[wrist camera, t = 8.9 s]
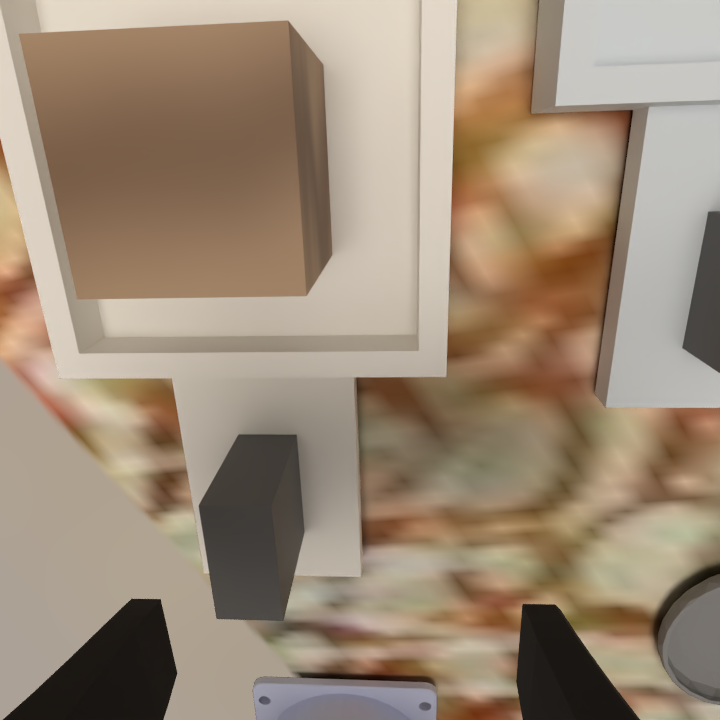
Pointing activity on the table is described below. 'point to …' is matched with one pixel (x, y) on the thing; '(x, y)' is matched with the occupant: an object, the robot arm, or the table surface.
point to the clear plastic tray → (650, 184)
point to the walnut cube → (185, 158)
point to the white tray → (274, 314)
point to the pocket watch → (694, 641)
